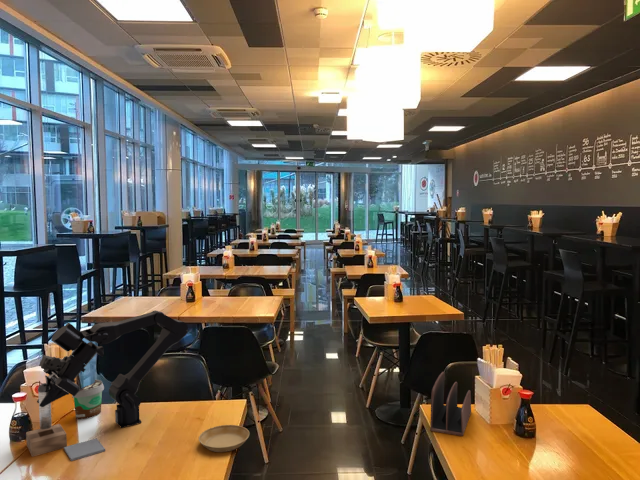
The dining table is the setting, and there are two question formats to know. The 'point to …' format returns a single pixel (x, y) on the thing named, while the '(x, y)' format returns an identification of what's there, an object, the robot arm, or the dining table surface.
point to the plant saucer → (224, 437)
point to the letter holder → (448, 409)
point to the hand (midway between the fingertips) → (39, 404)
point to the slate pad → (84, 449)
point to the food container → (88, 400)
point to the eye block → (46, 440)
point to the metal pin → (46, 410)
